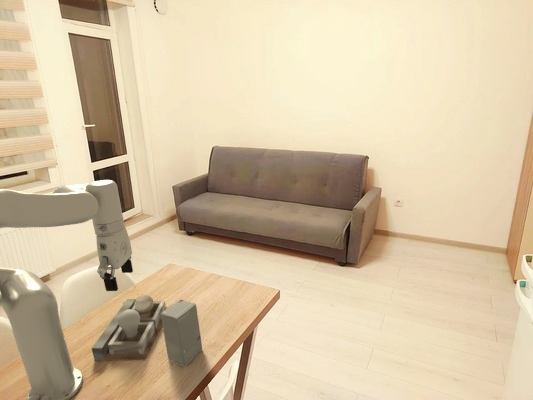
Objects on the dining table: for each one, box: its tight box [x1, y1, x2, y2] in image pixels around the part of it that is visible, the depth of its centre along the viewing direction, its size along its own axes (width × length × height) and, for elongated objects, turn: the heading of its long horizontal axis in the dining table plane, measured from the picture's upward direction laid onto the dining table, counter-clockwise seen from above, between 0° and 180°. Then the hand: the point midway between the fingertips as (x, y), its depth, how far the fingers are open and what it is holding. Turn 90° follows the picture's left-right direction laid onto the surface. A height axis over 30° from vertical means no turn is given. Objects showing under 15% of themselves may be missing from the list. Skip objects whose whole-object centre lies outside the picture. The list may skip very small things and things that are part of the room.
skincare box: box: [160, 299, 203, 368], centre depth 97 cm, size 8×7×16 cm
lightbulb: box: [118, 309, 140, 342], centre depth 103 cm, size 6×6×11 cm
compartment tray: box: [91, 294, 169, 362], centre depth 108 cm, size 24×15×10 cm, turn 178°
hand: (120, 280), depth 97 cm, fingers open, 9 cm apart
